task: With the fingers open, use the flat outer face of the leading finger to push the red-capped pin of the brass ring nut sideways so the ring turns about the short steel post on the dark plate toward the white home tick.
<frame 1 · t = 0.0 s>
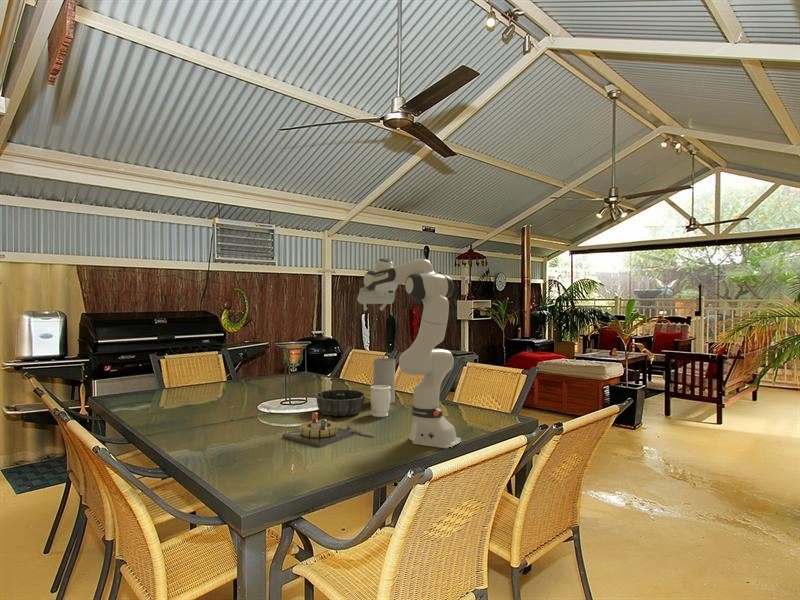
hand: (373, 310, 255), 54 cm above the table, tool tilted 30°, fingers open, 8 cm apart
bundt pan: (340, 413, 251), on the table
cylinder vase: (383, 402, 277), on the table
spanner: (361, 434, 212), on the table
jar: (380, 415, 247), on the table
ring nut: (319, 424, 208), point 5 cm above the table, hinge at 0.0°
cap plate: (318, 436, 208), on the table
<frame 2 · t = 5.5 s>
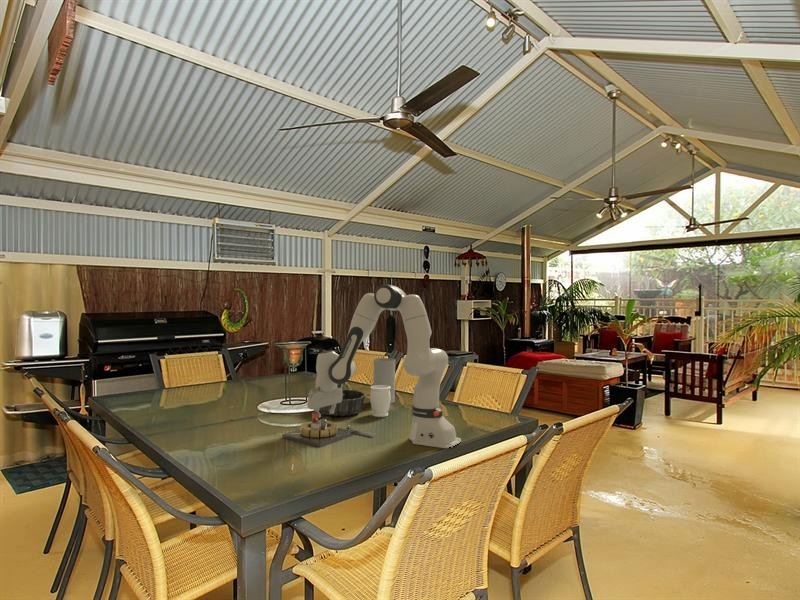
hand: (325, 415, 220), 6 cm above the table, tool pointing down, fingers open, 8 cm apart
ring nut: (319, 424, 208), point 5 cm above the table, hinge at 0.0°, touching gripper
everything else where it was.
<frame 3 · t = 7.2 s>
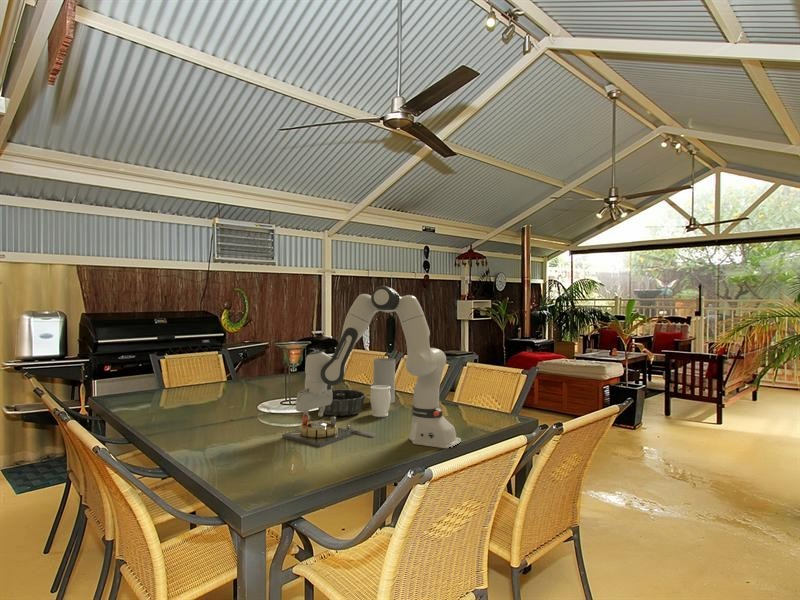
hand: (314, 417, 214), 6 cm above the table, tool pointing down, fingers open, 7 cm apart
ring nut: (319, 424, 208), point 5 cm above the table, hinge at 50.7°, touching gripper
everything else where it was.
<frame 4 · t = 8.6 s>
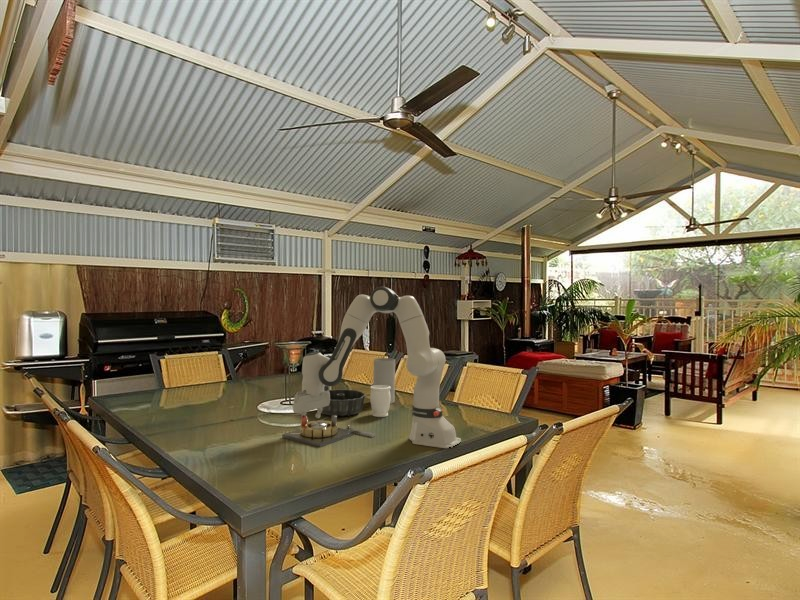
hand: (311, 419, 212), 6 cm above the table, tool pointing down, fingers open, 7 cm apart
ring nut: (319, 424, 208), point 5 cm above the table, hinge at 68.3°, touching gripper
everything else where it was.
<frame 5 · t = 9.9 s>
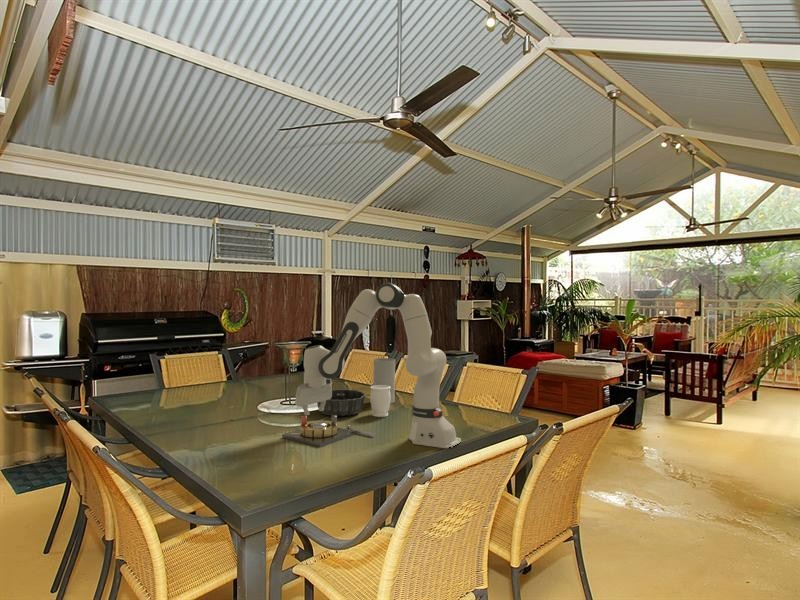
hand: (314, 412, 213), 9 cm above the table, tool pointing down, fingers open, 8 cm apart
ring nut: (319, 424, 208), point 5 cm above the table, hinge at 70.3°
everything else where it was.
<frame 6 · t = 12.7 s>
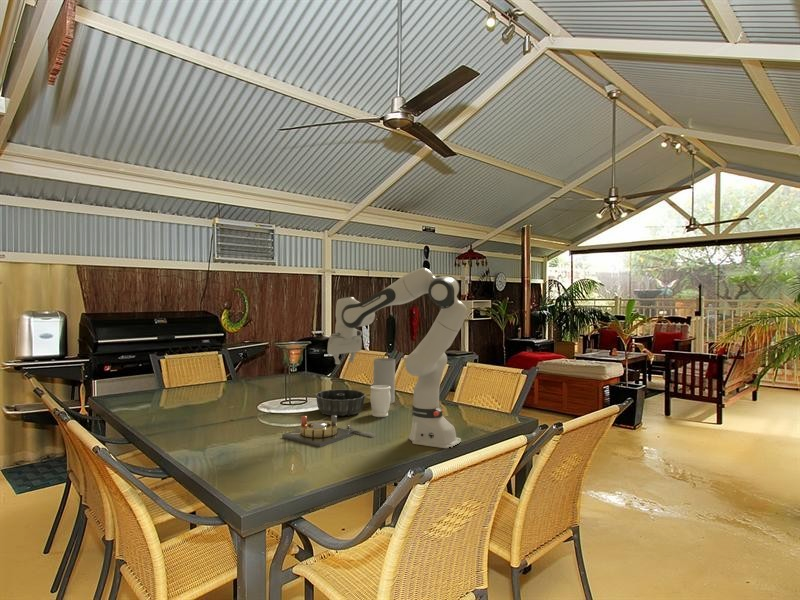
hand: (344, 363, 216), 31 cm above the table, tool pointing down, fingers open, 8 cm apart
nothing on the table moved.
at the end: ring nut at +70° (first picture: +0°) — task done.
